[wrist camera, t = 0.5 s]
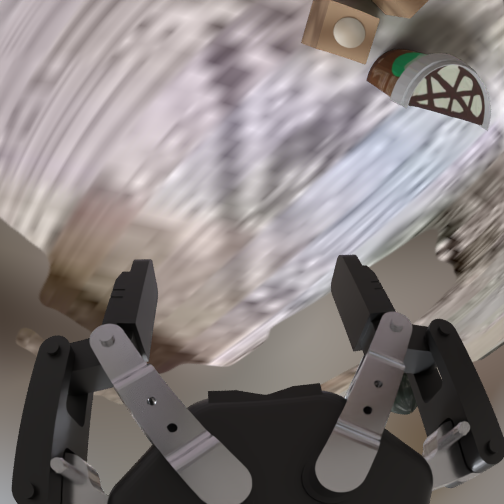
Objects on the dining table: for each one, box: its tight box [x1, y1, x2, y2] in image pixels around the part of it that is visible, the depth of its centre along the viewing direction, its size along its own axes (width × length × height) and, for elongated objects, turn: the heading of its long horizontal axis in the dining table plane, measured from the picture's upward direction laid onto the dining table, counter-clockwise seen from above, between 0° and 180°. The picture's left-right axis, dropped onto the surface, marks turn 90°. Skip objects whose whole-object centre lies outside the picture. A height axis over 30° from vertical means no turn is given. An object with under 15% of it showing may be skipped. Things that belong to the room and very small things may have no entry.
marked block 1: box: [301, 0, 380, 64], centre depth 24 cm, size 5×5×5 cm
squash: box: [391, 373, 417, 414], centre depth 88 cm, size 14×15×15 cm
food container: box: [367, 49, 491, 131], centre depth 25 cm, size 12×6×10 cm, turn 86°
